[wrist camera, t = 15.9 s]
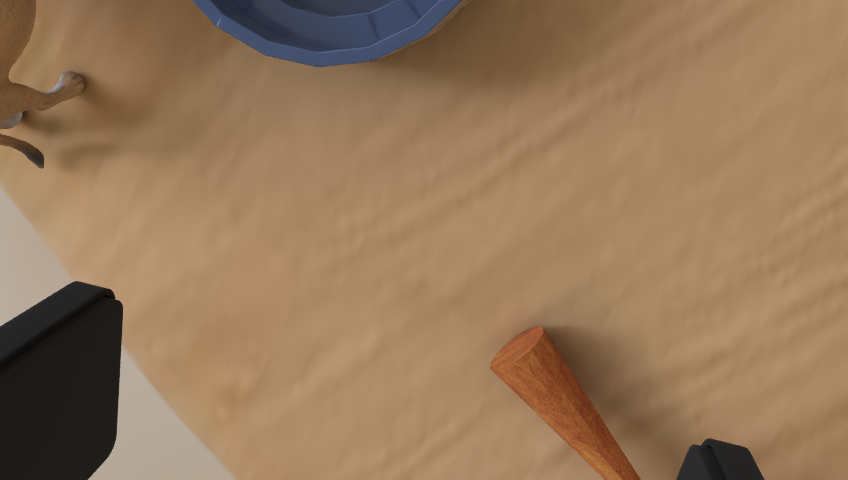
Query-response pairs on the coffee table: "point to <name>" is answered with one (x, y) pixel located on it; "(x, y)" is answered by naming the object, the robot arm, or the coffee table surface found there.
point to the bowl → (330, 26)
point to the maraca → (560, 401)
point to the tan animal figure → (5, 101)
